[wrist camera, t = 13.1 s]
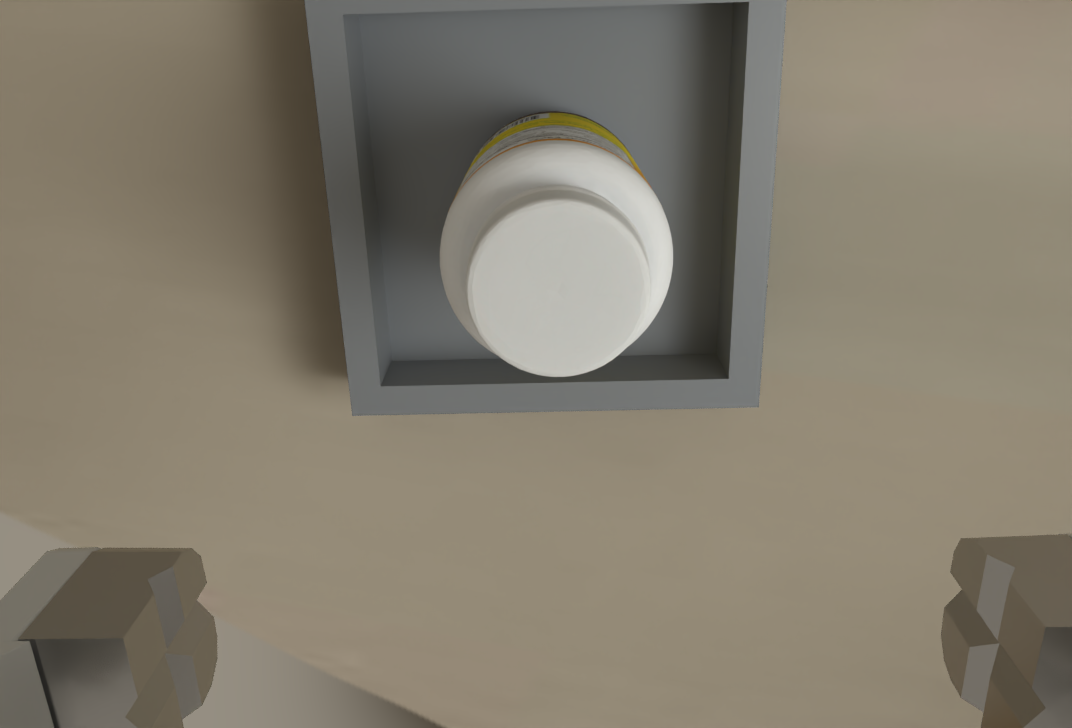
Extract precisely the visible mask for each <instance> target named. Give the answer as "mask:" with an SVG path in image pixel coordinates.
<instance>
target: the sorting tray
mask: <svg viewBox="0 0 1072 728" xmlns="http://www.w3.org/2000/svg"><path fill="white" fill-rule="evenodd" d="M304 1H305V10H306V19H307V27H308V36H309V45H310V53H311V62H312V71H313V79H314V88H315V97H316V105H317V114H318V122H319V131H320V140H321V148H322V157H323V166H324V174H325V183H326V192H327V200H328V209H329V218H330V226H331V235H332V244H333V252H334V261H335V270H336V278H337V287H338V296H339V304H340V313H341V321H342V330H343V339H344V347H345V356H346V365H347V373H348V382H349V391H350V399H351V408H352V416H362V415H410V414H458V413H506V412H554V411H602V410H650V409H698V408H746V407H759V396H760V381H761V367H762V352H763V338H764V323H765V309H766V294H767V279H768V265H769V250H770V236H771V221H772V207H773V192H774V177H775V163H776V148H777V134H778V119H779V105H780V90H781V75H782V61H783V46H784V32H785V17H786V3H787V0H304ZM544 111H563V112H569V113H574V114H578V115H581V116H584V117H587V118H589V119H591V120H593V121H595V122H597V123H599V124H601V125H602V126H604V127H605V128H607V129H608V130H609V131H610V132H611V133H613V134H614V135H615V136H616V137H617V138H618V139H619V140H620V141H621V142H622V143H623V144H624V145H625V147H626V148H627V150H628V151H629V153H630V154H631V156H632V158H633V159H634V161H635V163H636V164H637V166H638V168H639V169H640V171H641V172H642V174H643V175H644V177H645V179H646V180H647V182H648V183H649V185H650V186H651V188H652V190H653V191H654V193H655V195H656V196H657V198H658V200H659V202H660V203H661V205H662V208H663V210H664V213H665V215H666V218H667V221H668V224H669V228H670V232H671V237H672V244H673V268H672V275H671V280H670V284H669V288H668V291H667V294H666V297H665V299H664V302H663V304H662V306H661V308H660V310H659V312H658V313H657V315H656V316H655V318H654V320H653V321H652V322H651V324H650V325H649V326H648V328H647V329H646V330H645V331H644V332H643V333H642V334H641V335H640V336H639V338H638V339H637V340H636V341H634V342H633V343H632V344H631V345H630V346H628V347H627V348H626V349H625V350H624V351H623V352H622V353H620V354H619V355H618V356H617V357H615V358H614V359H613V360H612V361H610V362H608V363H607V364H605V365H604V366H601V367H599V368H597V369H595V370H592V371H589V372H586V373H583V374H579V375H574V376H567V377H549V376H541V375H536V374H533V373H529V372H526V371H523V370H520V369H518V368H516V367H515V366H513V365H511V364H509V363H507V362H506V361H504V360H503V359H501V358H500V357H499V356H497V355H496V354H494V353H492V352H491V351H489V350H488V349H487V348H485V347H484V346H482V345H481V344H480V343H479V342H478V341H476V340H475V339H474V338H473V337H472V336H471V334H470V333H469V332H468V331H467V330H466V329H465V327H464V326H463V325H462V324H461V322H460V321H459V319H458V318H457V316H456V315H455V313H454V311H453V309H452V307H451V305H450V303H449V300H448V298H447V295H446V292H445V289H444V285H443V281H442V277H441V270H440V244H441V237H442V231H443V227H444V224H445V221H446V218H447V214H448V211H449V208H450V206H451V204H452V202H453V200H454V198H455V196H456V193H457V191H458V189H459V187H460V185H461V183H462V181H463V179H464V177H465V175H466V173H467V171H468V169H469V168H470V166H471V163H472V162H473V160H474V158H475V156H476V155H477V153H478V151H479V150H480V149H481V147H482V146H483V145H484V144H485V142H486V141H487V140H488V139H489V138H490V137H491V136H492V135H493V134H494V133H496V132H497V131H498V130H499V129H500V128H502V127H503V126H504V125H506V124H508V123H510V122H511V121H513V120H516V119H518V118H520V117H523V116H526V115H529V114H533V113H537V112H544Z"/></svg>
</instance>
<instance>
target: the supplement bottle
mask: <svg viewBox="0 0 1072 728" xmlns="http://www.w3.org/2000/svg"><path fill="white" fill-rule="evenodd" d="M672 268H673V244H672V237H671V232H670V228H669V224H668V221H667V218H666V215H665V213H664V210H663V208H662V205H661V203H660V202H659V200H658V198H657V196H656V195H655V193H654V191H653V190H652V188H651V186H650V185H649V183H648V182H647V180H646V179H645V177H644V175H643V174H642V172H641V171H640V169H639V168H638V166H637V164H636V163H635V161H634V159H633V158H632V156H631V154H630V153H629V151H628V150H627V148H626V147H625V145H624V144H623V143H622V142H621V141H620V140H619V139H618V138H617V137H616V136H615V135H614V134H613V133H611V132H610V131H609V130H608V129H607V128H605V127H604V126H602V125H601V124H599V123H597V122H595V121H593V120H591V119H589V118H587V117H584V116H581V115H578V114H574V113H569V112H563V111H544V112H537V113H533V114H529V115H526V116H523V117H520V118H518V119H516V120H513V121H511V122H510V123H508V124H506V125H504V126H503V127H502V128H500V129H499V130H498V131H497V132H496V133H494V134H493V135H492V136H491V137H490V138H489V139H488V140H487V141H486V142H485V144H484V145H483V146H482V147H481V149H480V150H479V151H478V153H477V155H476V156H475V158H474V160H473V162H472V163H471V166H470V168H469V169H468V171H467V173H466V175H465V177H464V179H463V181H462V183H461V185H460V187H459V189H458V191H457V193H456V196H455V198H454V200H453V202H452V204H451V206H450V208H449V211H448V214H447V218H446V221H445V224H444V227H443V231H442V237H441V244H440V270H441V277H442V281H443V285H444V289H445V292H446V295H447V298H448V300H449V303H450V305H451V307H452V309H453V311H454V313H455V315H456V316H457V318H458V319H459V321H460V322H461V324H462V325H463V326H464V327H465V329H466V330H467V331H468V332H469V333H470V334H471V336H472V337H473V338H474V339H475V340H476V341H478V342H479V343H480V344H481V345H482V346H484V347H485V348H487V349H488V350H489V351H491V352H492V353H494V354H496V355H497V356H499V357H500V358H501V359H503V360H504V361H506V362H507V363H509V364H511V365H513V366H515V367H516V368H518V369H520V370H523V371H526V372H529V373H533V374H536V375H541V376H549V377H567V376H574V375H579V374H583V373H586V372H589V371H592V370H595V369H597V368H599V367H601V366H604V365H605V364H607V363H608V362H610V361H612V360H613V359H614V358H615V357H617V356H618V355H619V354H620V353H622V352H623V351H624V350H625V349H626V348H627V347H628V346H630V345H631V344H632V343H633V342H634V341H636V340H637V339H638V338H639V336H640V335H641V334H642V333H643V332H644V331H645V330H646V329H647V328H648V326H649V325H650V324H651V322H652V321H653V320H654V318H655V316H656V315H657V313H658V312H659V310H660V308H661V306H662V304H663V302H664V299H665V297H666V294H667V291H668V288H669V284H670V280H671V275H672Z"/></svg>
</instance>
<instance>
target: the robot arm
mask: <svg viewBox="0 0 1072 728" xmlns="http://www.w3.org/2000/svg"><path fill="white" fill-rule="evenodd" d="M950 573H951V574H952V575H953V577H954V578H955V580H956V581H957V583H958V584H959V586H960V587H961V589H962V590H961V591H960V592H959V593H958V594H957V595H956V596H955V597H954V598H953V599H952V600H951V601H950V602H949V603H948V604H947V605H946V606H945V607H944V614H943V622H942V630H941V639H942V647H943V656H944V662H945V665H946V667H947V670H948V673H949V676H950V679H951V681H952V683H953V685H954V686H955V688H956V690H957V692H958V693H959V695H960V697H961V698H962V699H964V700H965V701H967V702H968V703H970V704H972V705H973V706H975V707H976V708H978V709H979V710H981V711H982V712H984V713H983V718H982V724H981V728H1072V534H1058V535H1037V536H1011V537H984V538H961V539H960V541H959V543H958V545H957V547H956V549H955V551H954V554H953V560H952V565H951V571H950ZM206 583H207V581H206V576H205V572H204V568H203V564H202V559H201V556H200V555H199V554H198V553H197V552H196V551H195V550H193V549H192V548H102V549H101V548H97V547H90V548H59V549H55V550H51V551H47V552H46V553H45V554H44V555H43V556H42V557H41V558H40V559H39V560H38V561H37V562H36V563H35V564H34V565H33V566H32V567H31V569H30V570H29V571H28V572H27V573H26V574H25V575H24V576H23V577H22V578H21V579H20V580H19V581H18V582H17V583H16V584H15V586H14V587H13V588H12V589H11V590H10V591H9V592H8V593H7V594H6V595H5V596H4V597H3V598H2V599H1V600H0V728H184V727H183V722H182V719H183V718H185V717H186V716H188V715H189V714H191V713H192V712H193V711H195V710H196V709H198V708H199V707H200V706H202V704H203V702H204V700H205V698H206V696H207V694H208V692H209V689H210V687H211V685H212V681H213V676H214V672H215V667H216V662H217V633H216V627H215V622H214V617H213V616H212V615H211V614H210V613H209V612H208V611H207V610H206V609H205V608H204V607H203V606H202V605H201V604H200V603H199V602H198V601H197V598H198V597H199V595H200V593H201V592H202V590H203V588H204V587H205V585H206Z"/></svg>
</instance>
